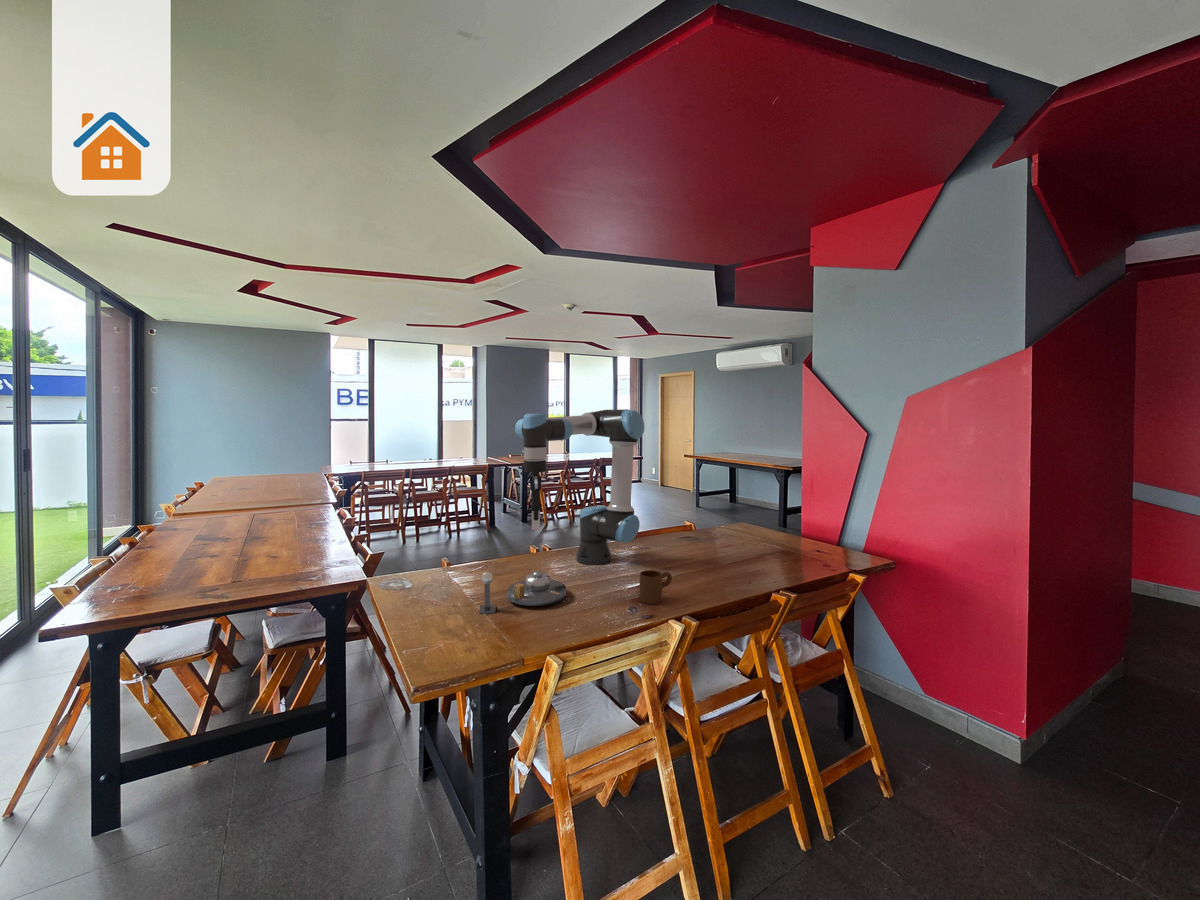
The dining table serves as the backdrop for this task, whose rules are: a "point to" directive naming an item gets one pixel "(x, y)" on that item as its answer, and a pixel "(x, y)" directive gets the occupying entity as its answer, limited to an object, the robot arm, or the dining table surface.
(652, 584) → the mug
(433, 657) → the dining table surface
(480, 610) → the globe lamp
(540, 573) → the cover
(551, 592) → the turntable
